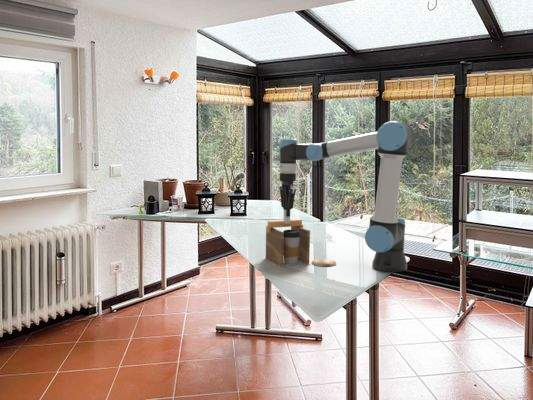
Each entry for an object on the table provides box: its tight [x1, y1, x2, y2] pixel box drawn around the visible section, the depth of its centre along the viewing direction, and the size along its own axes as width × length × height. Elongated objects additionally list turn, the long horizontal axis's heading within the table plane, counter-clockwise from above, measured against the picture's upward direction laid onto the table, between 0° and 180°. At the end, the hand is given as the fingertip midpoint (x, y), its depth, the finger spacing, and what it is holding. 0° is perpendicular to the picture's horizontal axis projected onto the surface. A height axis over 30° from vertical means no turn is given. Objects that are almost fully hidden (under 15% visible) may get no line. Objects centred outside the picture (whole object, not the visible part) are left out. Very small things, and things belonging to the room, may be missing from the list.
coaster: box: [311, 258, 337, 268], centre depth 232 cm, size 11×11×1 cm
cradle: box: [265, 226, 311, 268], centre depth 235 cm, size 14×17×16 cm
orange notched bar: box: [265, 218, 304, 232], centre depth 236 cm, size 18×3×5 cm, turn 113°
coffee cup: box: [282, 229, 300, 266], centre depth 231 cm, size 8×8×15 cm
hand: (286, 223), depth 234 cm, fingers closed
